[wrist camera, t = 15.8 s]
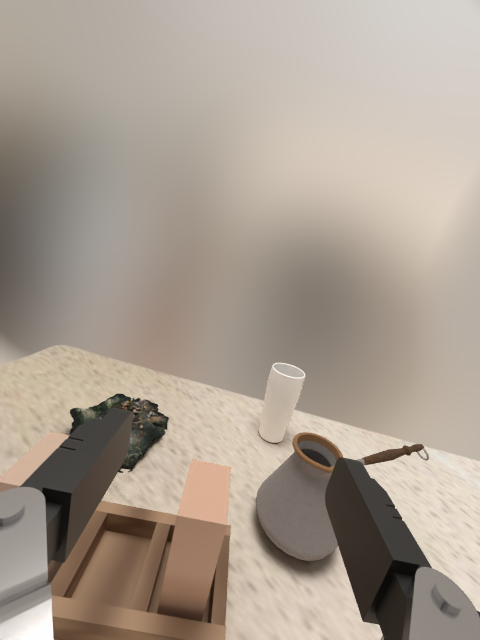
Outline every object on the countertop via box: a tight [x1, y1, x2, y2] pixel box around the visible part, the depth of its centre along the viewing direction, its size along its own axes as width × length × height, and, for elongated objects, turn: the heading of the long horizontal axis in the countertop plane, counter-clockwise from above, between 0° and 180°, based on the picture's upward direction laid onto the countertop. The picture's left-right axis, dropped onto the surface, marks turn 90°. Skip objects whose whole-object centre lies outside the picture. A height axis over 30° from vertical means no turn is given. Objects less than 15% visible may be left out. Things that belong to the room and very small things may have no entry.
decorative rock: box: [70, 394, 169, 472], centre depth 48 cm, size 19×6×15 cm
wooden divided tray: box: [51, 501, 231, 640], centre depth 26 cm, size 22×10×4 cm, turn 89°
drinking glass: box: [259, 363, 305, 443], centre depth 54 cm, size 7×7×15 cm
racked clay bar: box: [0, 432, 70, 584], centre depth 25 cm, size 4×6×12 cm, turn 179°
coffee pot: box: [256, 433, 429, 561], centre depth 36 cm, size 21×12×15 cm, turn 98°
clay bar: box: [157, 460, 231, 622], centre depth 25 cm, size 4×6×12 cm, turn 179°
